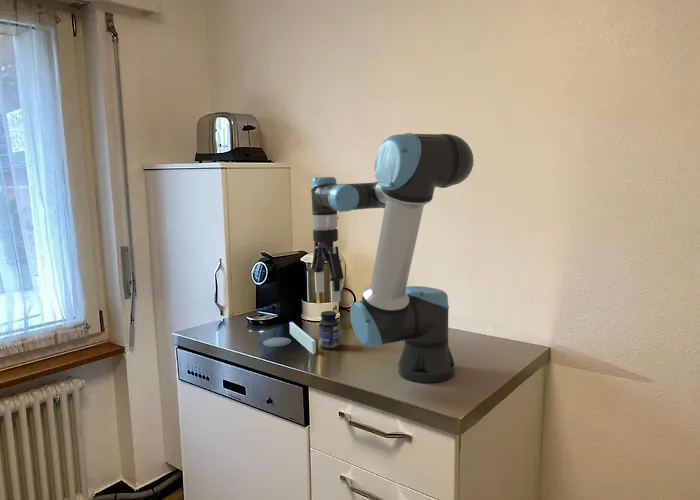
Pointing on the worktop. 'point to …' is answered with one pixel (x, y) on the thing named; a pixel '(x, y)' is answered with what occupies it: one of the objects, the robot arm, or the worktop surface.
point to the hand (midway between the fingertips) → (327, 296)
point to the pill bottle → (329, 330)
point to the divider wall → (303, 338)
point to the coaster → (277, 342)
